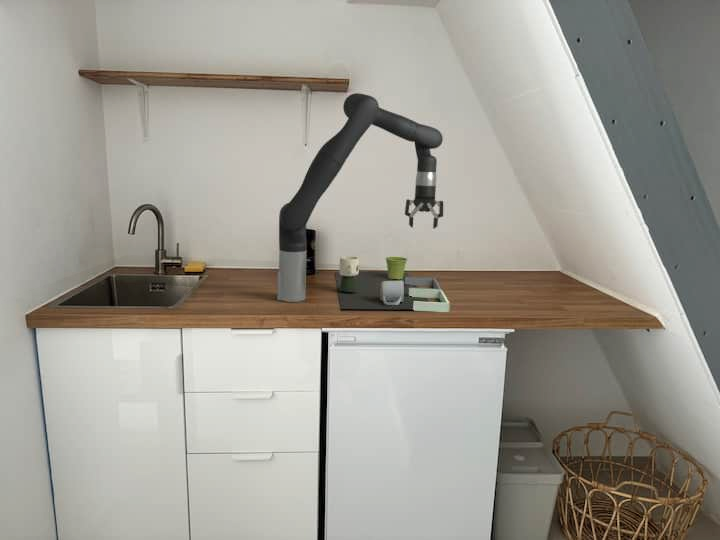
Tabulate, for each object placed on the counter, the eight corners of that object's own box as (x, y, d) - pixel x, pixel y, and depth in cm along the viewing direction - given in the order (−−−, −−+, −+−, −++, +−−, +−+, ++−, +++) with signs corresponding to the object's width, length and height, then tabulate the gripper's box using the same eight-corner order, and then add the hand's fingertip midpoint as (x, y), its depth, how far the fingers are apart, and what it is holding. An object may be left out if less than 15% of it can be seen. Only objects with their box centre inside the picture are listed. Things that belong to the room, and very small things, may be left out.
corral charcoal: (408, 295, 194) (409, 288, 194) (404, 284, 214) (405, 277, 213) (441, 297, 194) (441, 289, 194) (434, 285, 213) (434, 278, 213)
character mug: (360, 295, 192) (361, 260, 189) (340, 295, 190) (341, 260, 188) (355, 288, 202) (356, 255, 200) (336, 288, 201) (338, 255, 198)
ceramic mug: (379, 298, 189) (380, 277, 187) (402, 299, 189) (403, 278, 187) (379, 306, 179) (381, 284, 177) (404, 307, 179) (405, 285, 177)
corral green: (413, 310, 175) (413, 301, 174) (408, 296, 194) (409, 288, 193) (449, 312, 175) (449, 303, 174) (441, 297, 194) (441, 289, 193)
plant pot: (381, 279, 221) (382, 259, 219) (387, 275, 229) (388, 255, 228) (403, 282, 218) (404, 261, 216) (408, 277, 227) (409, 257, 225)
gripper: (407, 184, 192) (404, 228, 195) (446, 185, 192) (443, 229, 195) (405, 183, 200) (403, 225, 203) (443, 184, 199) (440, 227, 203)
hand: (423, 227), depth 199 cm, fingers open, 8 cm apart
